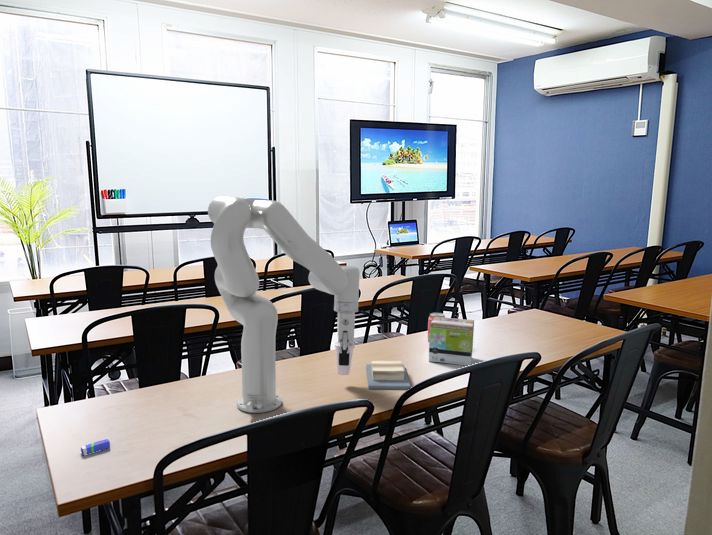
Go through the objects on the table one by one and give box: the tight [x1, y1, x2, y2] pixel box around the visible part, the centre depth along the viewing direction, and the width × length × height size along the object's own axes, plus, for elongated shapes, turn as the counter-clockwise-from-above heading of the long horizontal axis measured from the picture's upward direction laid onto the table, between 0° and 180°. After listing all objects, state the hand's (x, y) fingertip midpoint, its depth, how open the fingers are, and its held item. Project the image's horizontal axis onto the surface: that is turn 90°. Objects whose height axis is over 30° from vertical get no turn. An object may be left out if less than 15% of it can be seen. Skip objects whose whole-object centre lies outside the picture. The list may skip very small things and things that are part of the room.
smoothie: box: [334, 341, 355, 376], centre depth 170 cm, size 6×6×14 cm
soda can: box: [427, 312, 446, 343], centre depth 215 cm, size 7×7×12 cm
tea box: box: [428, 317, 475, 367], centre depth 195 cm, size 15×10×15 cm, turn 74°
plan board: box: [365, 363, 411, 390], centre depth 178 cm, size 20×13×1 cm, turn 1°
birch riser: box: [370, 360, 404, 380], centre depth 178 cm, size 10×10×3 cm
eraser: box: [80, 438, 111, 456], centre depth 128 cm, size 2×6×2 cm, turn 130°
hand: (343, 361), depth 170 cm, fingers closed on smoothie, 6 cm apart
